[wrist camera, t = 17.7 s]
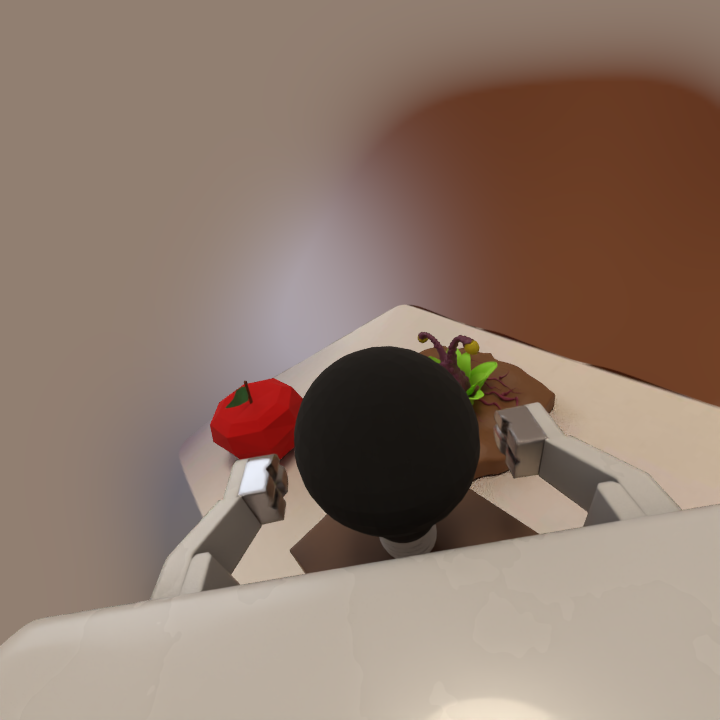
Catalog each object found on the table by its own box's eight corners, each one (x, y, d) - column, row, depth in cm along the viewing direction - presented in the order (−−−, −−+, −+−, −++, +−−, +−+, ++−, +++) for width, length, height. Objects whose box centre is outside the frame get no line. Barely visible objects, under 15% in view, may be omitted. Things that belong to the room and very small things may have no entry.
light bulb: (506, 600, 12) (530, 410, 7) (354, 639, 12) (251, 480, 7) (449, 471, 17) (436, 297, 12) (340, 499, 17) (274, 338, 12)
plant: (472, 521, 30) (471, 438, 23) (344, 419, 43) (322, 349, 37) (579, 400, 38) (599, 315, 32) (444, 347, 52) (439, 280, 46)
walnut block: (518, 646, 22) (542, 535, 14) (448, 776, 19) (422, 732, 10) (424, 560, 28) (400, 443, 19) (355, 648, 24) (288, 549, 16)
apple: (260, 410, 48) (231, 355, 43) (325, 416, 45) (303, 357, 39) (214, 472, 41) (172, 414, 35) (288, 486, 37) (254, 423, 31)
